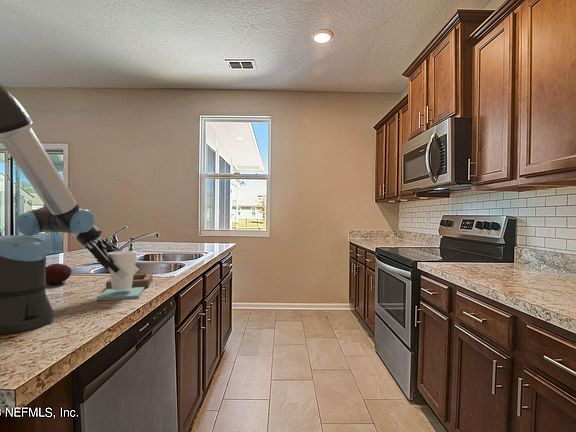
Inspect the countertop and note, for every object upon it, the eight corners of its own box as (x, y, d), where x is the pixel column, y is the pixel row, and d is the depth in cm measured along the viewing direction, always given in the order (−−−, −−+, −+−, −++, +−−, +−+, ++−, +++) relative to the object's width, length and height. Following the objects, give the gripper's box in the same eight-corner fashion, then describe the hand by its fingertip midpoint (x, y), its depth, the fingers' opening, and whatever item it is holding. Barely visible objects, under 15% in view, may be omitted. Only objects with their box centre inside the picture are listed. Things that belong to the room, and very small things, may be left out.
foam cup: (135, 290, 115) (135, 253, 115) (105, 292, 112) (105, 254, 112) (136, 284, 124) (137, 250, 124) (109, 286, 121) (109, 251, 121)
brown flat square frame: (148, 287, 129) (148, 280, 129) (105, 289, 125) (105, 282, 125) (152, 280, 144) (152, 273, 144) (114, 281, 139) (114, 274, 139)
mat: (138, 298, 114) (138, 295, 114) (97, 300, 110) (97, 297, 110) (144, 289, 126) (144, 286, 126) (106, 291, 122) (106, 289, 122)
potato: (48, 281, 140) (48, 261, 140) (77, 280, 142) (77, 261, 142) (33, 287, 129) (33, 266, 129) (65, 286, 131) (65, 265, 131)
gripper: (92, 236, 127) (134, 276, 129) (59, 241, 105) (110, 289, 107) (106, 222, 128) (148, 262, 129) (76, 225, 106) (127, 273, 108)
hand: (131, 274), depth 118 cm, fingers closed on foam cup, 9 cm apart
